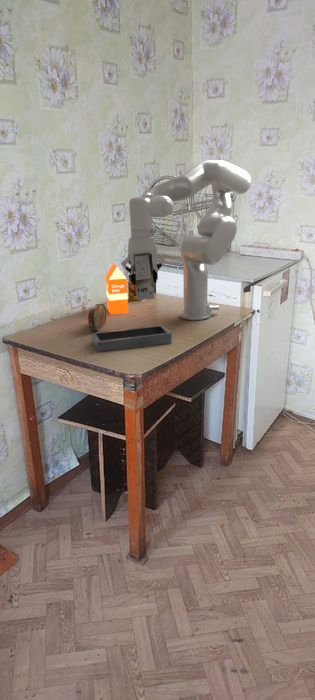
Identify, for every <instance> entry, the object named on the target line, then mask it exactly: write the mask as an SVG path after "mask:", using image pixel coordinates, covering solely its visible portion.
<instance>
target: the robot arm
mask: <svg viewBox="0 0 315 700" xmlns="http://www.w3.org/2000/svg"><path fill="white" fill-rule="evenodd" d="M251 185H252V179H251V175H250V173H248V172H247V171H246V170H245V169H242V168H241V167H238V166H237V165H235V164H232V163H229V162H227V161H225V160H218V159H217V160H210V159H209V160H203V161H200V162H199V163H198V164H196V165H194V166H193V167H191V168H190V169H188V170H187V171H186V172H184V173H182V174H181V175H180V176H178V177H174V178H171V179H170V180H167V181H165V182H162V183H160V184H157V185H156V186H153V187H152V188H151V189H148V190H147V191H146V192H144V193H142V195H140V196H136V197H133V198H132V197H131V198H130V200H129V203H128V204H129V205H128V208H129V220H130V237H129V239H128V243H127V256H126V257H125V259H124V260H122V262H121V263H120V266H122V268H124V270H125V271H127V272H128V273H129V275H130V281H131V283H132V284H133V285H136V278H135V259H134V255H139V254H150V253H151V254H152V264H153V283H155V284H156V283H157V282H158V280H159V278H158V274H159V273H158V272H159V270H160V269H161V268H162V266H163V265H164V264H165V262H166V259H165V258H164V257H162V256H161V255H160V254H158V247H157V244H156V239H155V237H154V234H156V233H157V229H154V228H153V221H152V220H153V218H166V217H168V216H170V215H171V214H172V212H173V210H174V202H177V201H182V200H187V199H190V198H192V197H193V196H195V195H196V194H198V193H199V192H201V191H202V190H203V189H205V188H206V187H208V186H211V189H212V202H211V204H210V206H209V207H208V209H207V211H206V212H205V213H204V215H203V217H202V219H200V222H199V223H198V226H197V233H198V235H199V236H189V237H187V238H185V239H184V240H183V241H182V243H181V246H180V258H181V262H182V269H183V310H182V311H181V312H179V317H180V318H181V319H184V320H189V321H203V320H207V319H210V318H211V316H212V311H218V310H219V308H220V307H219V305H218V304H217V305H214V304H208V282H209V281H208V277H209V275H208V268H207V266H208V265H210V266H212V265H216V264H218V263H219V262H220V261H221V260H222V258H223V257H224V255H226V254H225V253H226V252H227V251H228V249H229V247H230V246H231V244H232V243H233V241H234V240H235V237H236V234H237V230H238V229H237V228H238V227H237V222H236V220H235V219H234V218H233V217H231V216H230V215H231V214H232V211H233V201H232V199H231V198H232V197H231V194H232V195H233V194H235V195H243V194H245V193H246V192H248V191H249V190H250V187H251ZM158 260H159V262H158ZM127 264H128V265H130V267H129V266H128V265H127Z"/></svg>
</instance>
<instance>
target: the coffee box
mask: <svg viewBox="0 0 315 700" xmlns="http://www.w3.org/2000/svg"><path fill="white" fill-rule="evenodd" d="M134 259H135V272H134V274H135V278H136V295H137V300H142V299H144V300H154V299H155V293H154V291H155V289H154V287H155V286H154V282H153V264H152V254H151V253H150V254H139V255H134Z"/></svg>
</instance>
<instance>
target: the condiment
mask: <svg viewBox="0 0 315 700" xmlns="http://www.w3.org/2000/svg"><path fill="white" fill-rule="evenodd" d="M127 293H128V303H130V304H131V303H132V304H136V303H137V304H138V303H140V302H142V303H143V302H145V301H147V299H142V300H137V295H136V285H133V284H132V283H131V281H130V274H129V275H128V281H127Z"/></svg>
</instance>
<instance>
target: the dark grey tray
mask: <svg viewBox="0 0 315 700" xmlns="http://www.w3.org/2000/svg"><path fill="white" fill-rule="evenodd" d="M91 339H92V341H91V342H92V345H93V346H94V348H95V350H96V351H97V353H104V352H110V351H119V350H128V349H136V348H143V347H152V346H159V345H167V344H172V342H173V341H172V333H171V332H170V331H169V329H167V328H166V327H165V326H164V325H163V324H161V325H160V324H158V325H152V326H142V327H134V328H125V329H116V330H108V331H96V332H92V333H91Z"/></svg>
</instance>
